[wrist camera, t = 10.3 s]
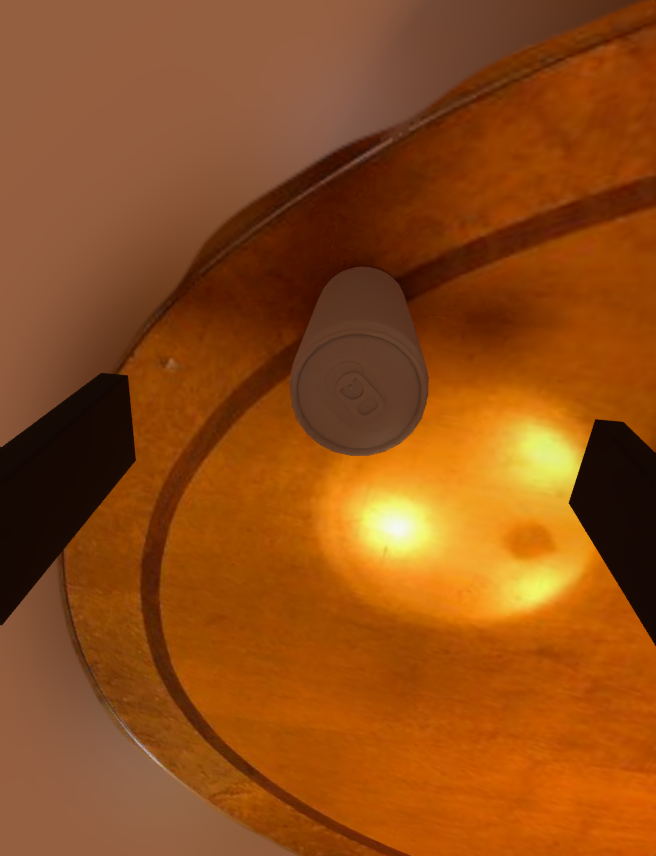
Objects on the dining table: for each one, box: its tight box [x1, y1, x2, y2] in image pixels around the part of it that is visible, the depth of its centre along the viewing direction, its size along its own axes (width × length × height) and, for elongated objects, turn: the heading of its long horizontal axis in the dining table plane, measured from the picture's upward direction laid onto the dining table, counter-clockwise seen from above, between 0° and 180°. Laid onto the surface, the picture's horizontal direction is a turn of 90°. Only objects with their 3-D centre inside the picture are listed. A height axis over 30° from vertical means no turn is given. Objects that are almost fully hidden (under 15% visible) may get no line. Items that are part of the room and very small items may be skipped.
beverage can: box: [290, 267, 429, 456], centre depth 23 cm, size 5×5×12 cm
